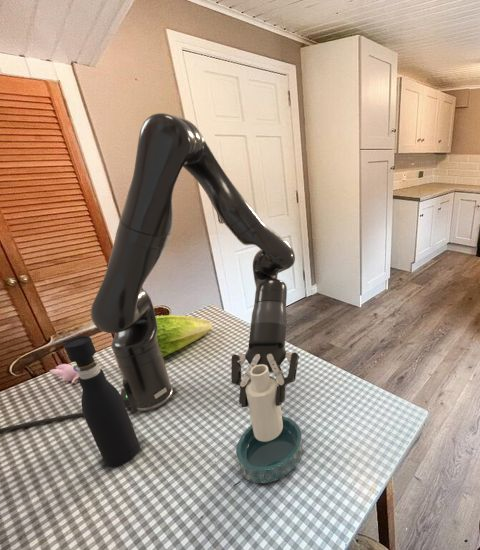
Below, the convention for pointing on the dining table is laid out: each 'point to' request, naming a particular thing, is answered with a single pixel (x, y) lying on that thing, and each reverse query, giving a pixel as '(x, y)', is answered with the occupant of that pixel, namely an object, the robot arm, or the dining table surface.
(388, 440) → the dining table surface
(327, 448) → the dining table surface
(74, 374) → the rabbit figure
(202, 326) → the lettuce
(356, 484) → the dining table surface
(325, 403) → the dining table surface
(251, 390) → the white bottle
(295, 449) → the dish
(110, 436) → the black insulated flask
